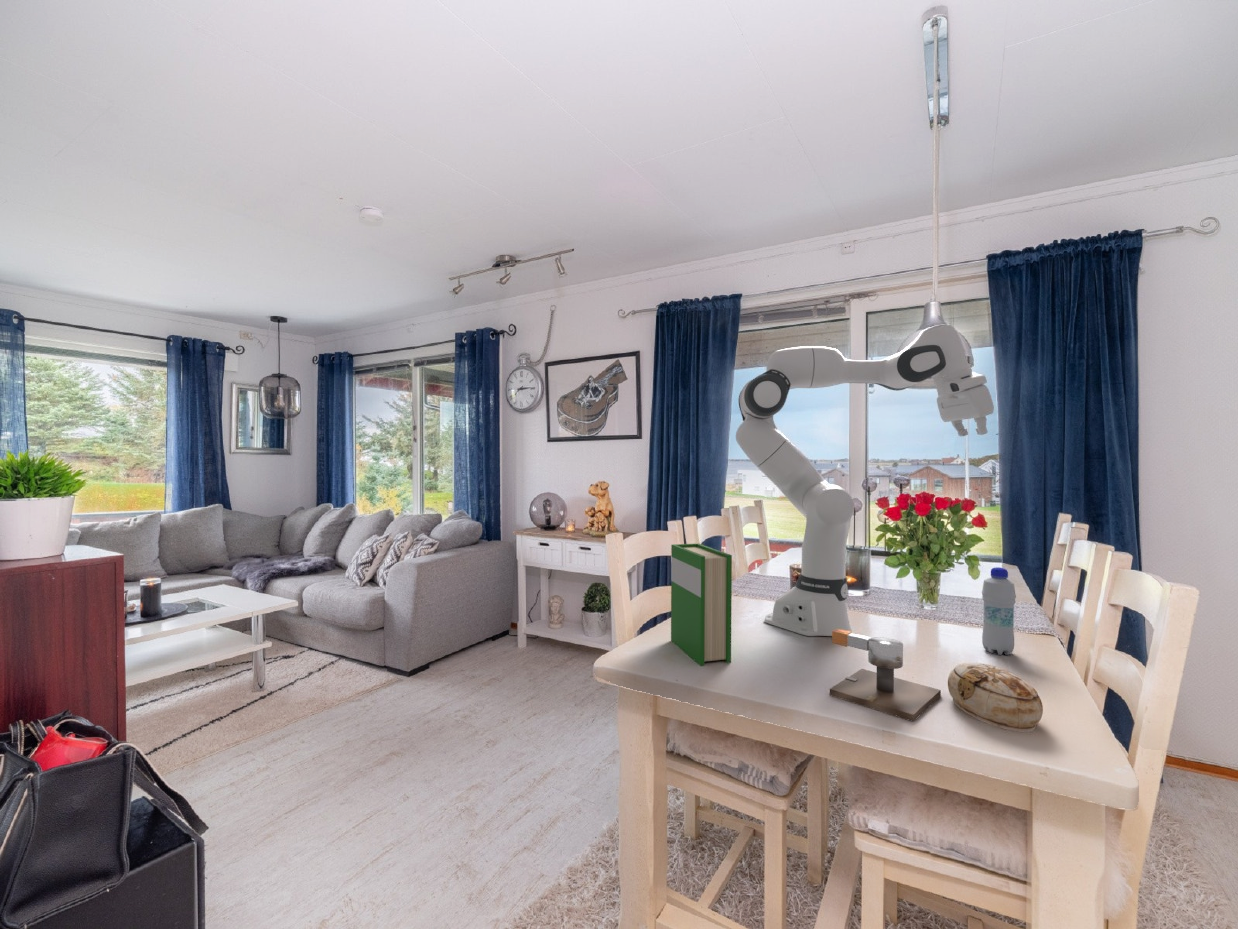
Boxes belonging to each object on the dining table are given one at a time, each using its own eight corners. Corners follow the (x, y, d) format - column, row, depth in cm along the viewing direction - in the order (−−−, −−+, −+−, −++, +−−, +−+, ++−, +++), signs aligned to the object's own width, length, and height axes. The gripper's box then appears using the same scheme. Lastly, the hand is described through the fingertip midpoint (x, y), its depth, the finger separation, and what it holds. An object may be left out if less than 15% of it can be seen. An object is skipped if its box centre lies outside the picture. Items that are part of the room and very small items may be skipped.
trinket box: (957, 690, 111) (957, 650, 111) (1052, 715, 100) (1052, 671, 100) (934, 710, 101) (934, 667, 101) (1035, 741, 91) (1036, 692, 90)
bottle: (1011, 649, 134) (1012, 566, 134) (1018, 658, 128) (1019, 571, 128) (978, 645, 137) (979, 563, 136) (983, 654, 131) (984, 568, 130)
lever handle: (907, 663, 107) (907, 641, 107) (895, 671, 103) (896, 649, 103) (841, 646, 117) (841, 626, 117) (827, 653, 112) (828, 632, 112)
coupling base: (829, 695, 108) (829, 664, 107) (861, 674, 118) (862, 646, 118) (913, 721, 97) (913, 687, 97) (940, 696, 107) (940, 665, 107)
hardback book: (731, 662, 124) (731, 555, 124) (700, 666, 122) (701, 556, 122) (698, 638, 141) (698, 543, 141) (670, 640, 139) (671, 544, 139)
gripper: (925, 393, 156) (942, 440, 156) (962, 383, 136) (981, 437, 135) (948, 385, 155) (965, 433, 155) (989, 374, 135) (1008, 429, 135)
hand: (973, 435), depth 145 cm, fingers open, 8 cm apart
